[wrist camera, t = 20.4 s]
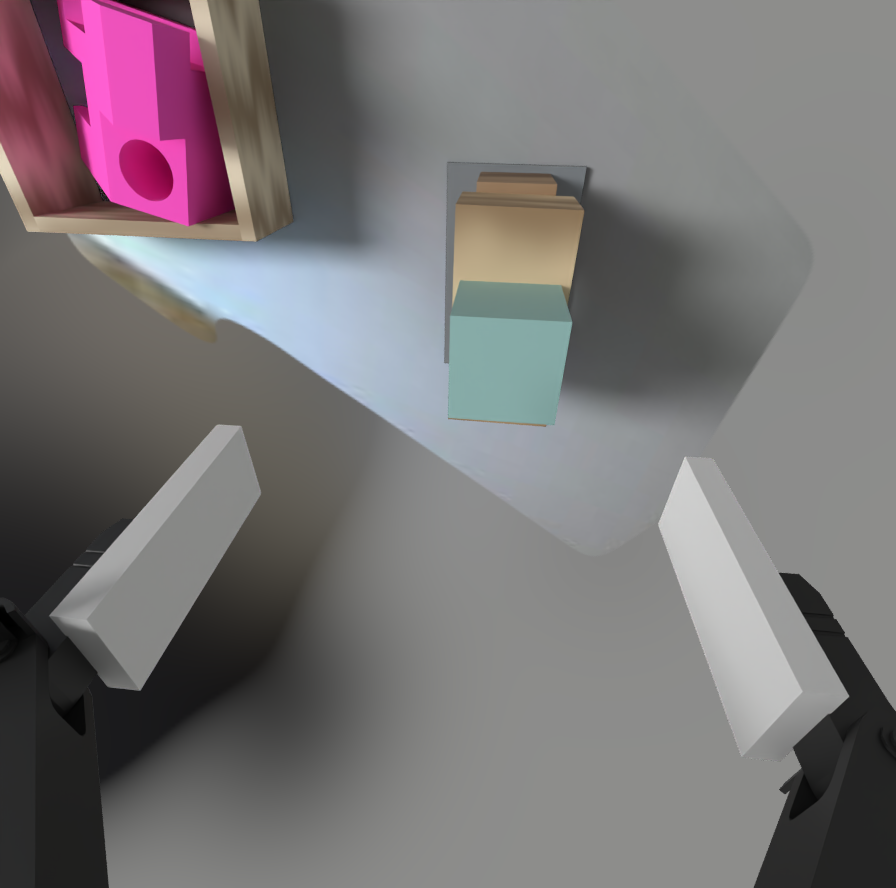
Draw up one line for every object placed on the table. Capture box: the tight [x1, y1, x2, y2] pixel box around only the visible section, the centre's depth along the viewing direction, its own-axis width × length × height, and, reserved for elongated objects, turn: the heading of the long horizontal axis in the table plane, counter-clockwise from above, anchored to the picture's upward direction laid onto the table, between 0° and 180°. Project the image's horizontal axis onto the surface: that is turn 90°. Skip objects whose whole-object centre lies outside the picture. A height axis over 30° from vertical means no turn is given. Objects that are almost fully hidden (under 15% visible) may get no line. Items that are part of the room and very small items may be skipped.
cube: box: [448, 280, 572, 425], centre depth 27 cm, size 6×6×6 cm
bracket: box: [57, 0, 235, 226], centre depth 30 cm, size 12×10×10 cm
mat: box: [444, 162, 587, 363], centre depth 39 cm, size 16×10×1 cm, turn 179°
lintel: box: [448, 191, 584, 427], centre depth 32 cm, size 14×7×5 cm, turn 178°
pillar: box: [476, 172, 557, 196], centre depth 33 cm, size 5×5×6 cm
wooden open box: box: [0, 0, 294, 241], centre depth 32 cm, size 15×17×7 cm
